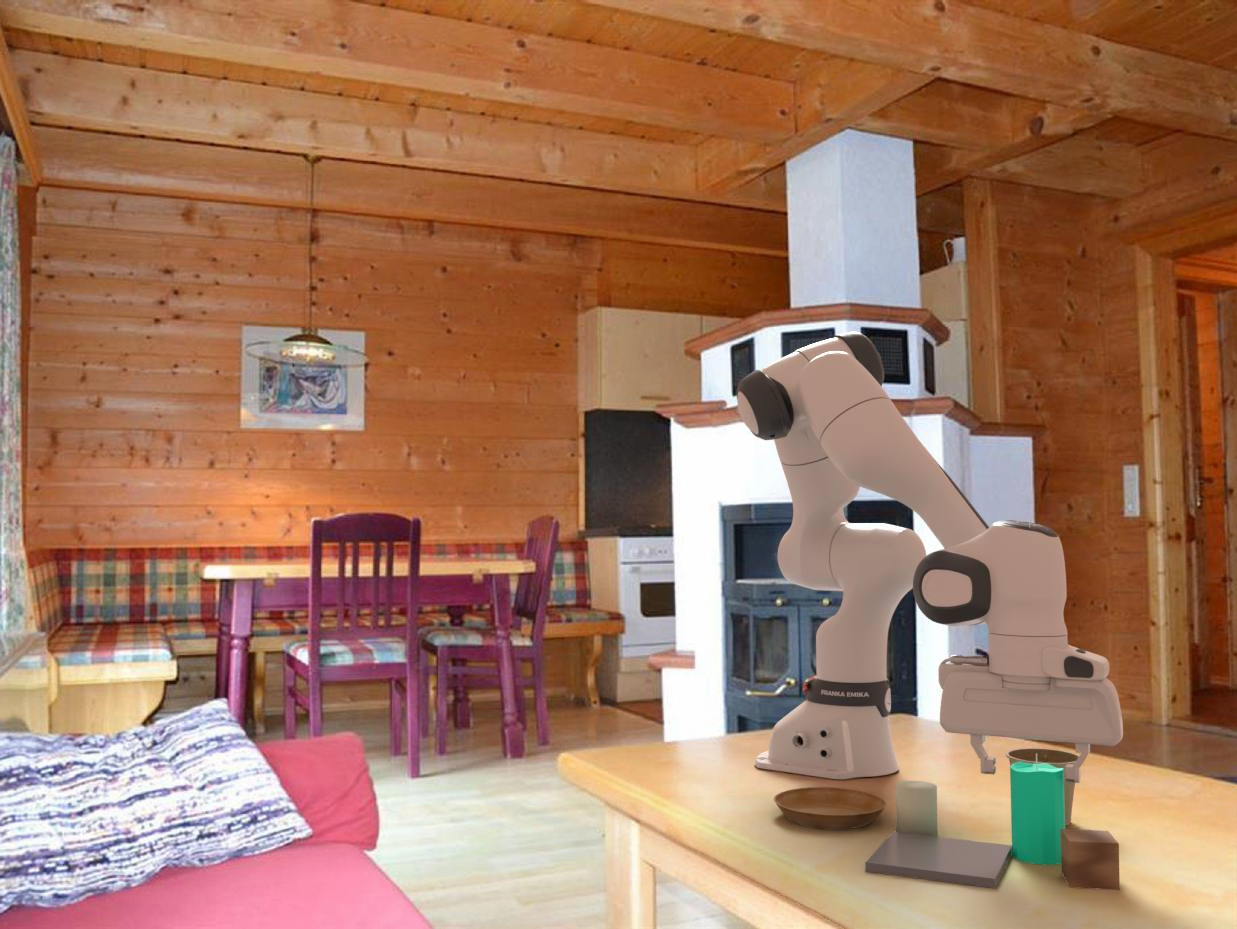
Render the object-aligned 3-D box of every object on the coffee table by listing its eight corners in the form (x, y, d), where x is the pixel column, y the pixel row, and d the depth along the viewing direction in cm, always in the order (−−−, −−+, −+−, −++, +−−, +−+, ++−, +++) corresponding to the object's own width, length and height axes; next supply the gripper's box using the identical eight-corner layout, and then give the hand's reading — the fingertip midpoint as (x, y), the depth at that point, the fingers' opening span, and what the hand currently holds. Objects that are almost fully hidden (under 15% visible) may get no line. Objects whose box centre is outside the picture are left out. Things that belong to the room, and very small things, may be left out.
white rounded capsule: (892, 835, 143) (892, 787, 143) (901, 826, 148) (900, 779, 148) (933, 840, 141) (932, 791, 141) (941, 830, 145) (940, 783, 146)
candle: (1070, 866, 130) (1068, 759, 131) (1015, 863, 131) (1013, 758, 132) (1061, 851, 136) (1058, 749, 137) (1008, 848, 137) (1006, 747, 138)
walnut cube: (1070, 888, 123) (1069, 841, 123) (1061, 873, 128) (1060, 828, 128) (1119, 890, 122) (1118, 843, 122) (1109, 876, 127) (1108, 830, 127)
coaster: (865, 871, 129) (865, 862, 129) (893, 839, 141) (893, 831, 141) (994, 888, 122) (994, 878, 122) (1012, 853, 135) (1011, 845, 135)
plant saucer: (908, 818, 152) (907, 799, 152) (846, 841, 141) (846, 820, 142) (815, 800, 162) (815, 781, 162) (751, 820, 152) (751, 800, 152)
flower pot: (1076, 835, 143) (1074, 765, 143) (999, 825, 148) (998, 757, 148) (1090, 818, 151) (1088, 752, 151) (1016, 809, 156) (1015, 745, 156)
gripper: (932, 656, 136) (934, 773, 136) (1118, 665, 127) (1121, 791, 126) (943, 651, 142) (945, 764, 141) (1122, 660, 133) (1125, 781, 132)
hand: (1029, 777), depth 134 cm, fingers open, 8 cm apart
